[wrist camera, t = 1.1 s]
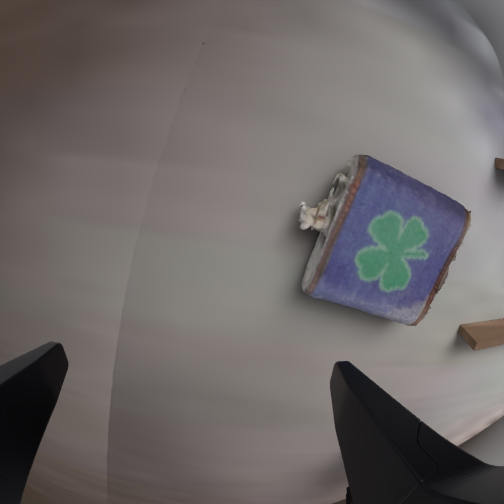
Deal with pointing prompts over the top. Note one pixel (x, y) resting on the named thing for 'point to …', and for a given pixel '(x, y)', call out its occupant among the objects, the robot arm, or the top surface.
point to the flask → (382, 241)
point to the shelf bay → (485, 331)
